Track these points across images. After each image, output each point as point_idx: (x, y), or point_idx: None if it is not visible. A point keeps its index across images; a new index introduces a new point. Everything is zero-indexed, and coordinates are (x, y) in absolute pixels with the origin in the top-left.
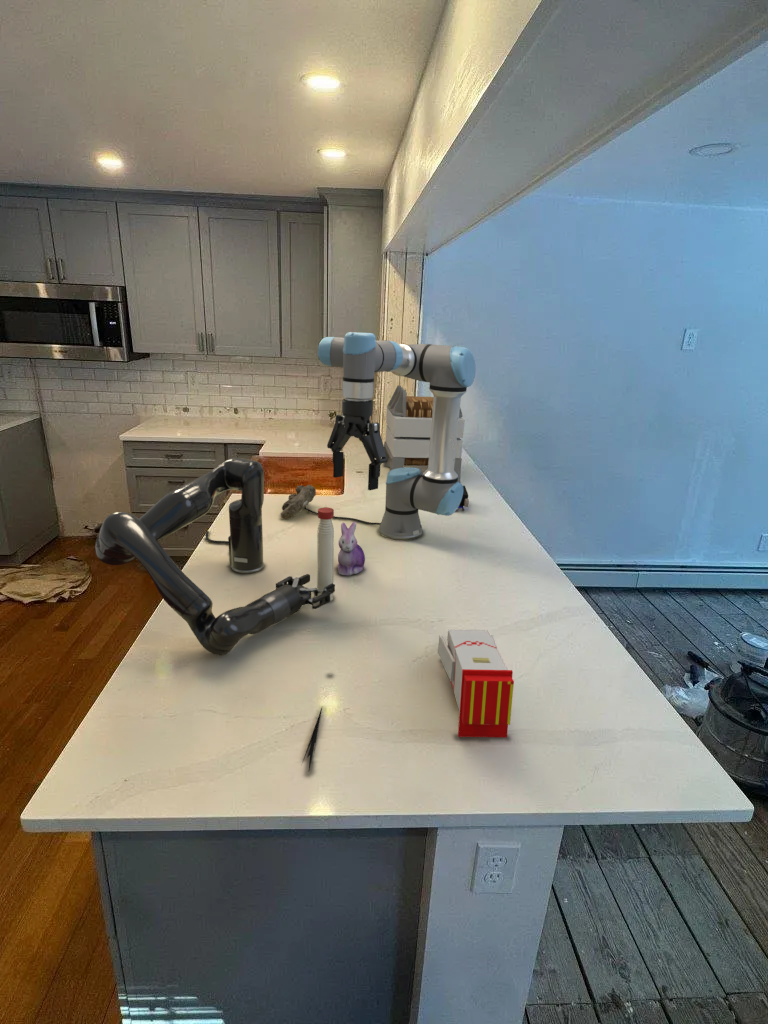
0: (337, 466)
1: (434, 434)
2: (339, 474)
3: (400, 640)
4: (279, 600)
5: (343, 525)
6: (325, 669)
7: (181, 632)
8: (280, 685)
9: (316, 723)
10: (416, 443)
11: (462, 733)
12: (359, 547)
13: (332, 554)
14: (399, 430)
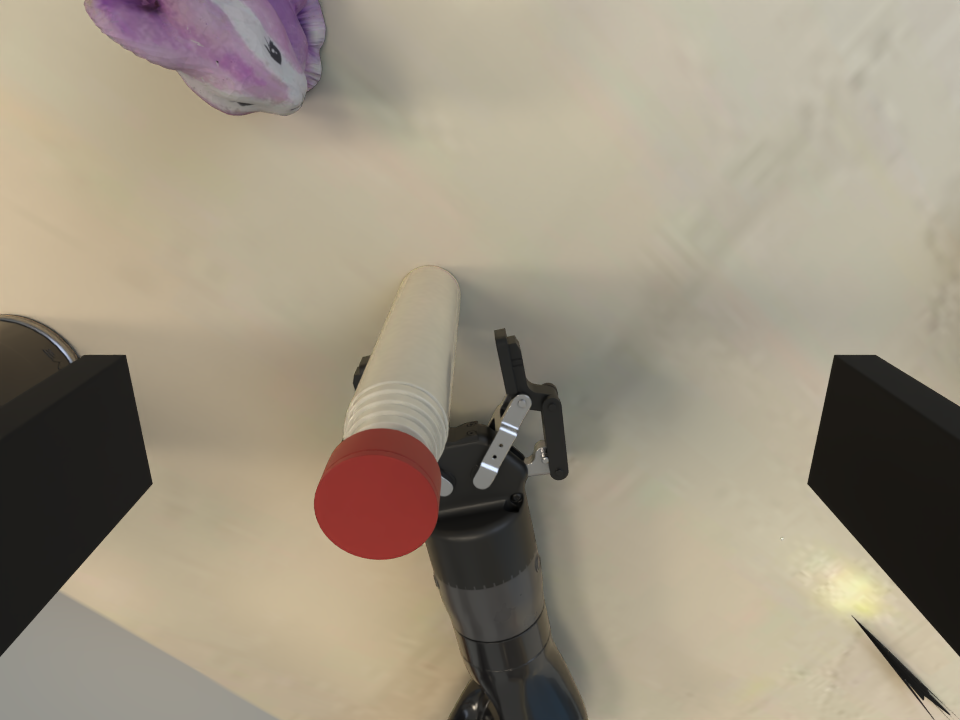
0: (50, 544)
1: None
2: (121, 432)
3: (831, 277)
4: (524, 597)
5: (132, 36)
6: (750, 529)
7: (349, 688)
8: (712, 631)
9: (882, 653)
10: None
11: None
12: None
13: (450, 354)
14: None
